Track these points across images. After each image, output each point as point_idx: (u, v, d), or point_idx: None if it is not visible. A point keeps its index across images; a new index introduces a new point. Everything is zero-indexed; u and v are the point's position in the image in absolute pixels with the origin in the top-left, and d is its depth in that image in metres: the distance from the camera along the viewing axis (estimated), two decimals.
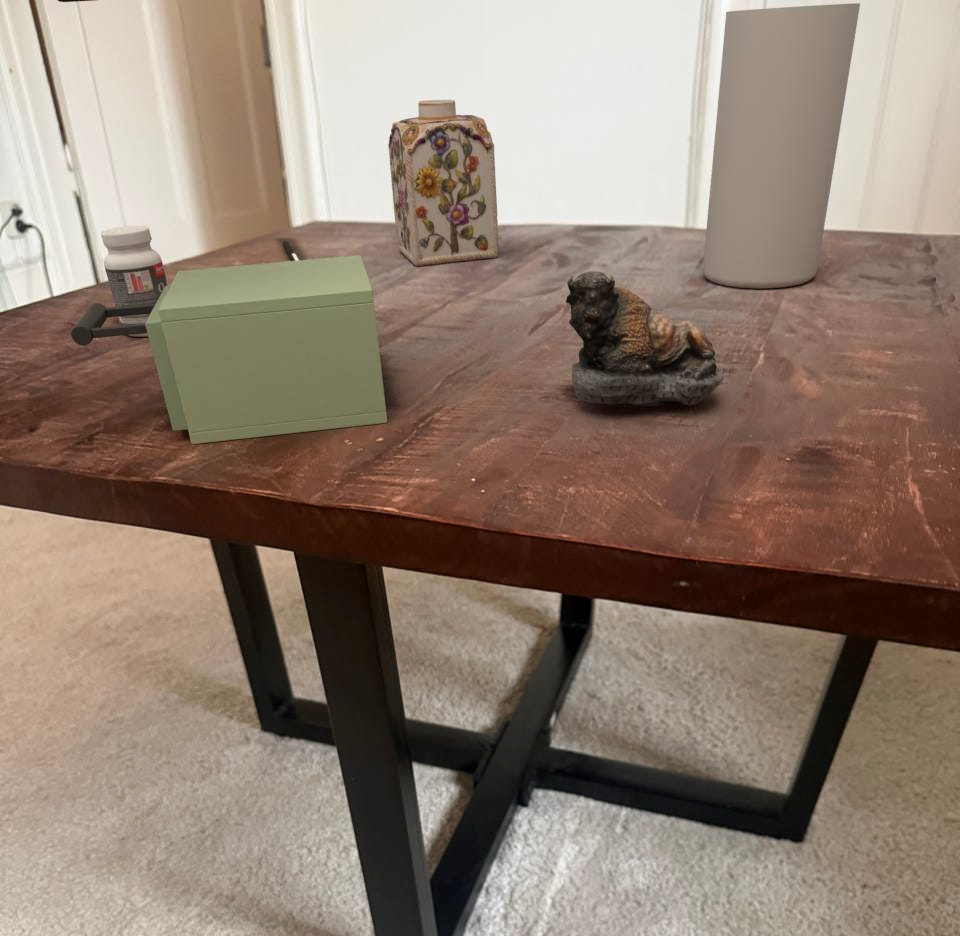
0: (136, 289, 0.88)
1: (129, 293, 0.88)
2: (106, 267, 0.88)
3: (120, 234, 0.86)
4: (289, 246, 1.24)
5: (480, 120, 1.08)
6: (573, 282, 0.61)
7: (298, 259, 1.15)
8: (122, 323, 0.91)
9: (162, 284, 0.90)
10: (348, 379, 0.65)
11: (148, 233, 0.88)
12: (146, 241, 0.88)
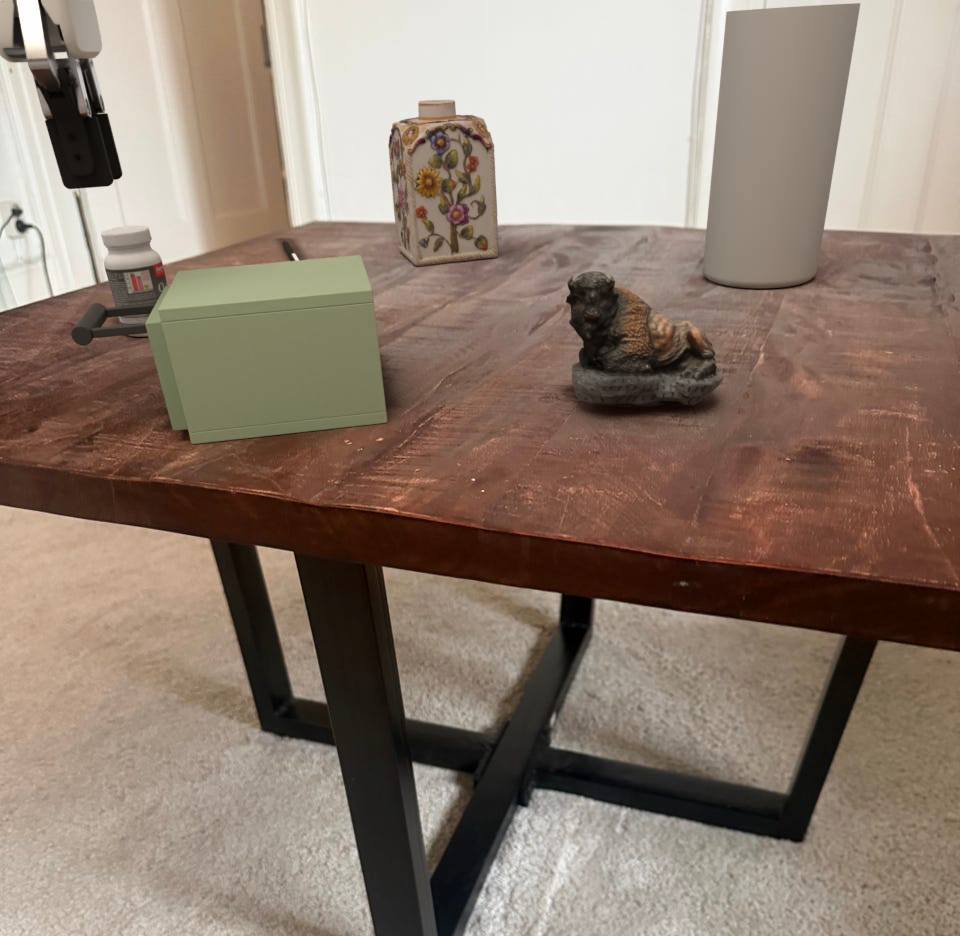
0: (136, 289, 0.88)
1: (129, 293, 0.88)
2: (106, 267, 0.88)
3: (120, 234, 0.86)
4: (289, 246, 1.24)
5: (480, 120, 1.08)
6: (573, 282, 0.61)
7: (298, 259, 1.15)
8: (122, 323, 0.91)
9: (162, 284, 0.90)
10: (348, 379, 0.65)
11: (148, 233, 0.88)
12: (146, 241, 0.88)
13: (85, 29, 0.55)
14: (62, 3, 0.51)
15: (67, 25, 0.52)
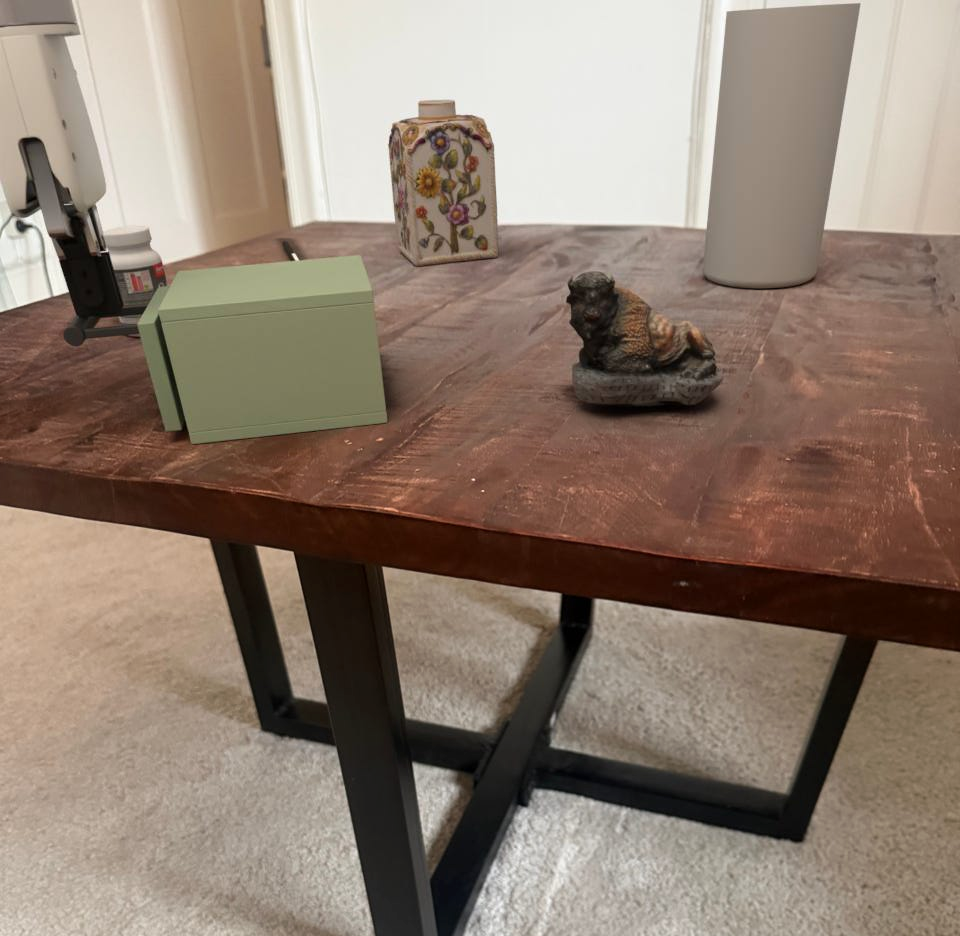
0: (136, 289, 0.88)
1: (129, 293, 0.88)
2: None
3: (120, 234, 0.86)
4: (289, 246, 1.24)
5: (480, 120, 1.08)
6: (573, 282, 0.61)
7: (298, 259, 1.15)
8: (122, 323, 0.91)
9: (162, 284, 0.90)
10: (348, 379, 0.65)
11: (148, 233, 0.88)
12: (146, 241, 0.88)
13: (91, 183, 0.59)
14: (70, 168, 0.56)
15: (75, 187, 0.56)
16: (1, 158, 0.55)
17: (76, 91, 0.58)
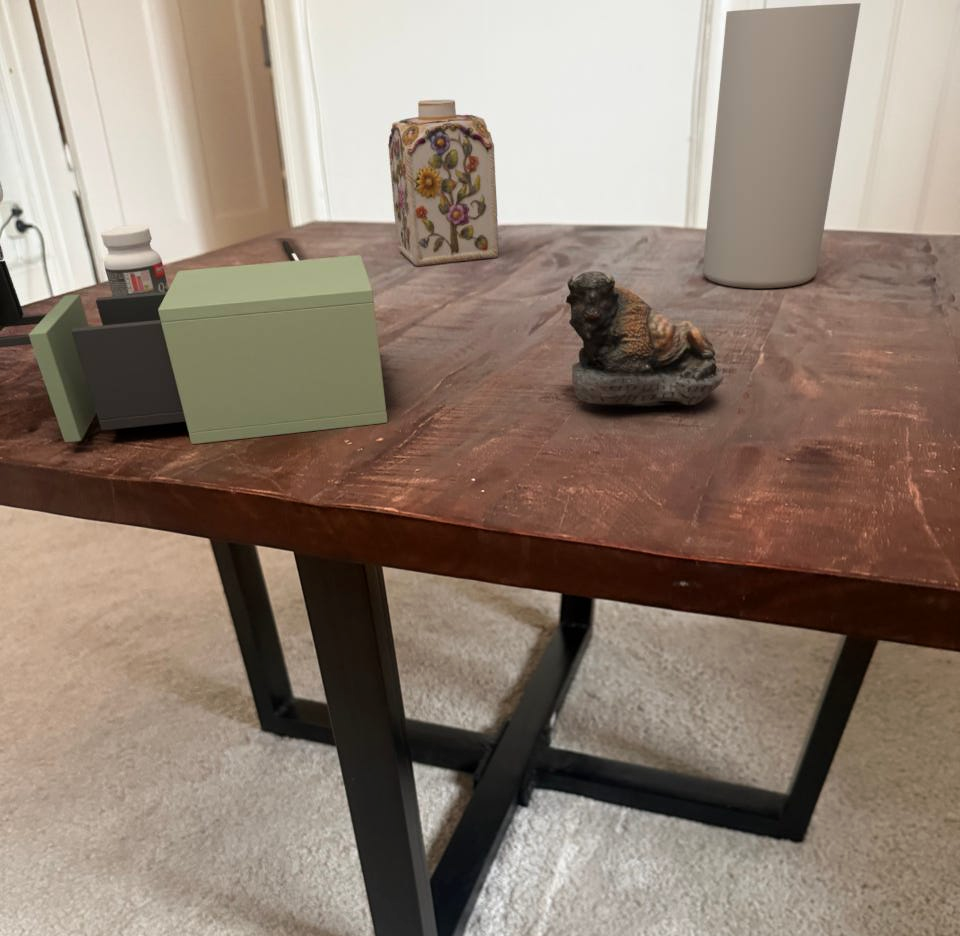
0: (136, 289, 0.88)
1: (129, 293, 0.88)
2: (106, 267, 0.88)
3: (120, 234, 0.86)
4: (289, 246, 1.24)
5: (480, 120, 1.08)
6: (573, 282, 0.61)
7: (298, 259, 1.15)
8: None
9: (162, 284, 0.90)
10: (348, 379, 0.65)
11: (148, 233, 0.88)
12: (146, 241, 0.88)
13: None
14: None
15: None
16: None
17: None
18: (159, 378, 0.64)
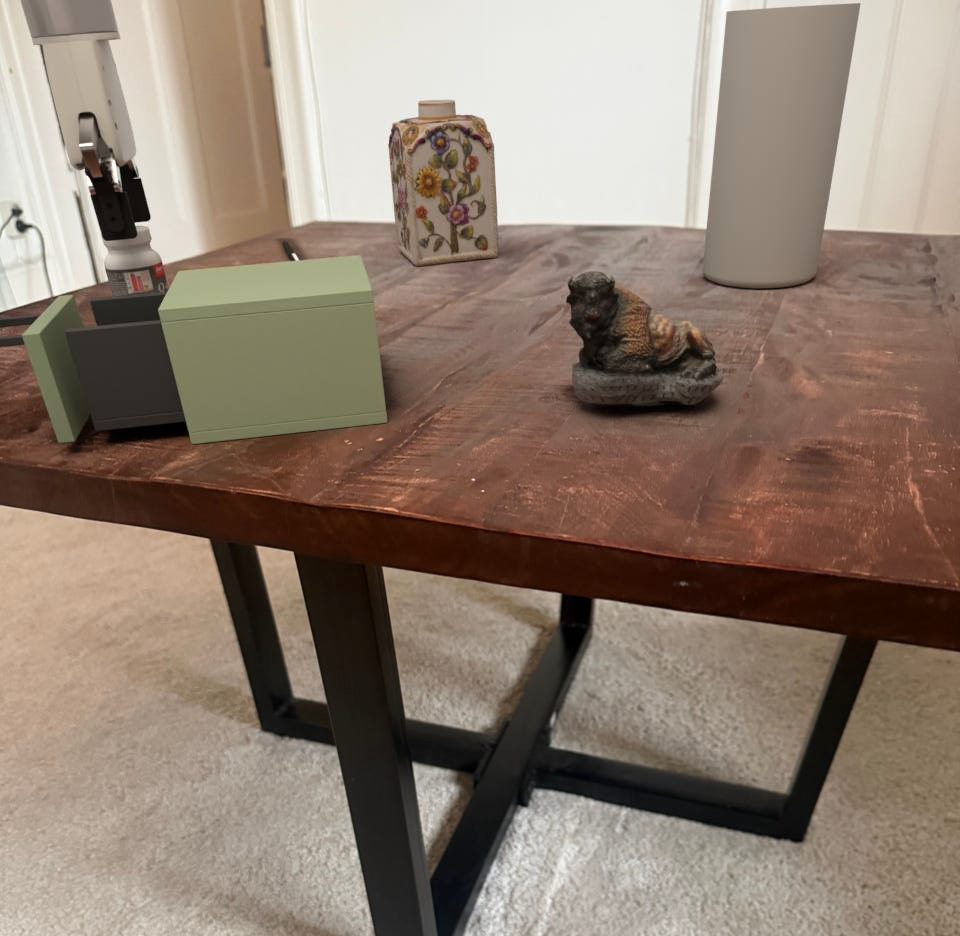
0: (136, 289, 0.88)
1: (129, 293, 0.88)
2: (106, 267, 0.88)
3: None
4: (289, 246, 1.24)
5: (480, 120, 1.08)
6: (573, 282, 0.61)
7: (298, 259, 1.15)
8: None
9: (162, 284, 0.90)
10: (348, 379, 0.65)
11: (148, 233, 0.88)
12: (146, 241, 0.88)
13: (127, 146, 0.83)
14: (114, 134, 0.79)
15: (117, 148, 0.80)
16: (66, 127, 0.78)
17: (117, 79, 0.81)
18: (153, 379, 0.64)
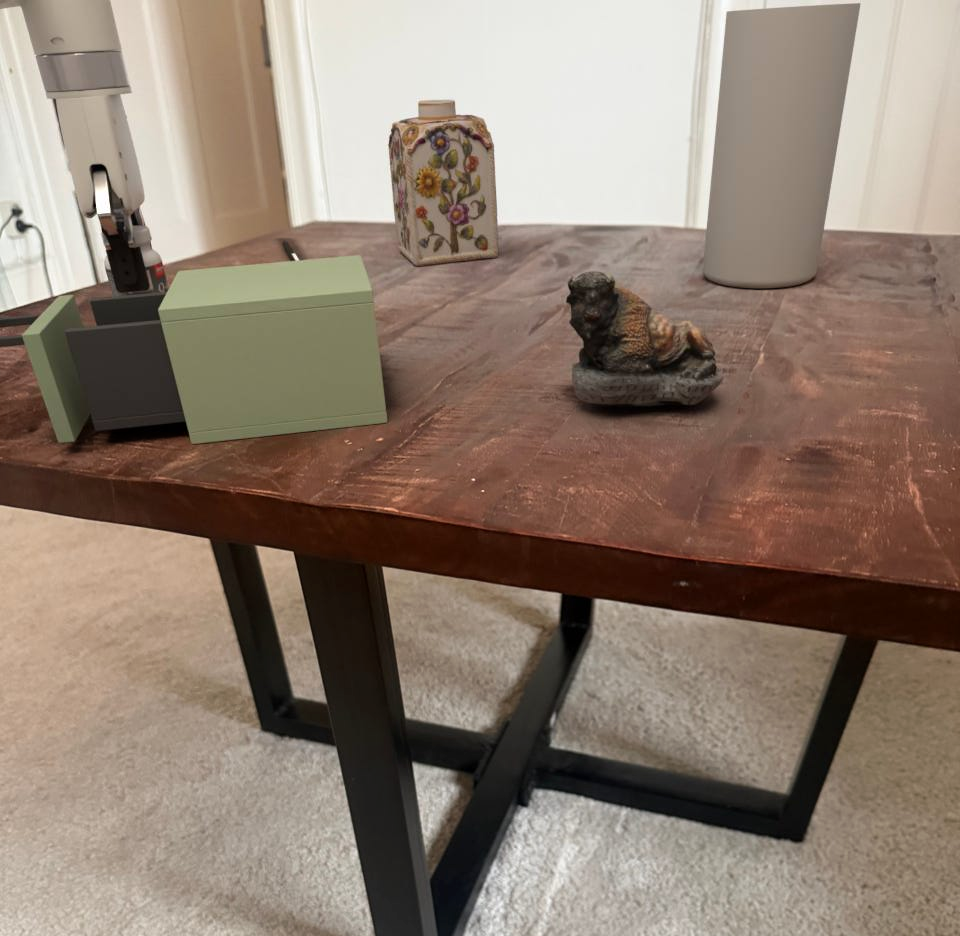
0: None
1: (129, 294, 0.88)
2: (106, 267, 0.88)
3: None
4: (289, 246, 1.24)
5: (480, 120, 1.08)
6: (573, 282, 0.61)
7: (298, 259, 1.15)
8: None
9: (162, 284, 0.90)
10: (348, 379, 0.65)
11: (148, 233, 0.88)
12: (146, 241, 0.88)
13: (136, 194, 0.85)
14: (124, 185, 0.81)
15: (126, 198, 0.82)
16: (77, 178, 0.80)
17: (127, 131, 0.83)
18: (153, 379, 0.64)
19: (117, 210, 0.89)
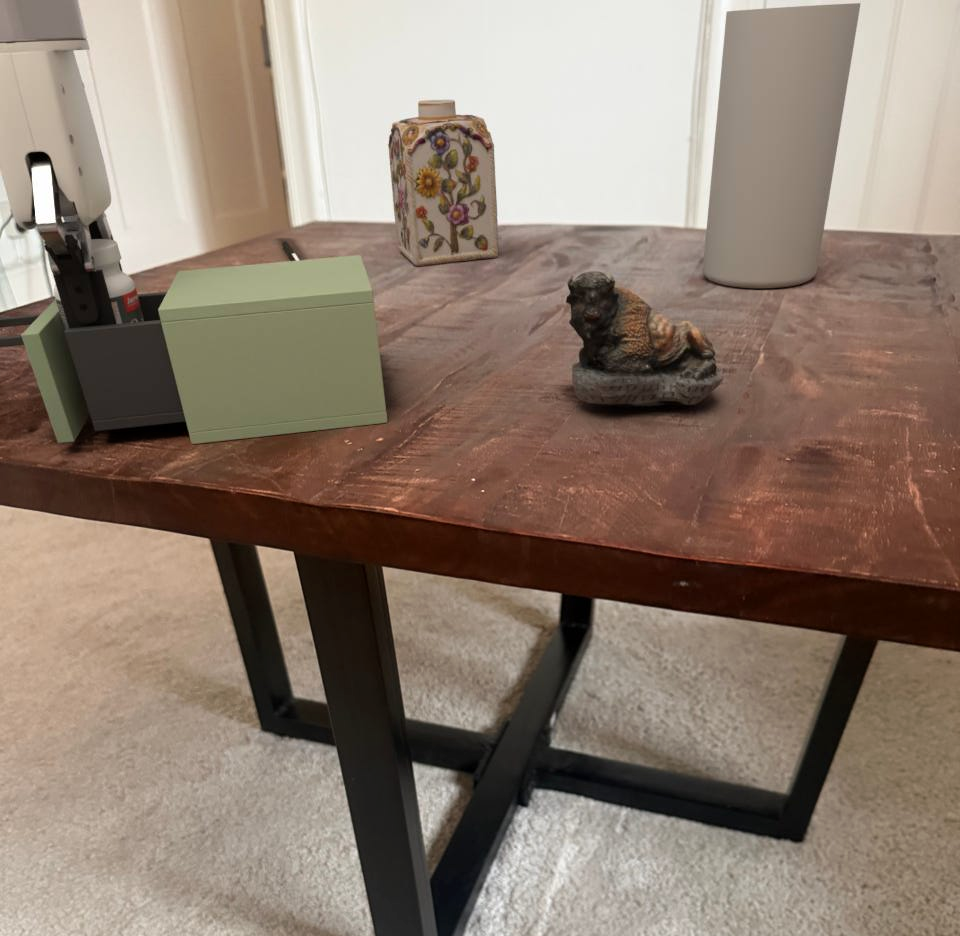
0: None
1: None
2: (57, 297, 0.63)
3: None
4: (289, 246, 1.24)
5: (480, 120, 1.08)
6: (573, 282, 0.61)
7: (298, 259, 1.15)
8: None
9: (136, 321, 0.65)
10: (348, 379, 0.65)
11: (116, 250, 0.63)
12: (113, 262, 0.62)
13: (96, 196, 0.60)
14: (77, 183, 0.56)
15: (81, 201, 0.57)
16: (8, 171, 0.55)
17: (84, 105, 0.58)
18: (152, 379, 0.63)
19: (72, 217, 0.64)
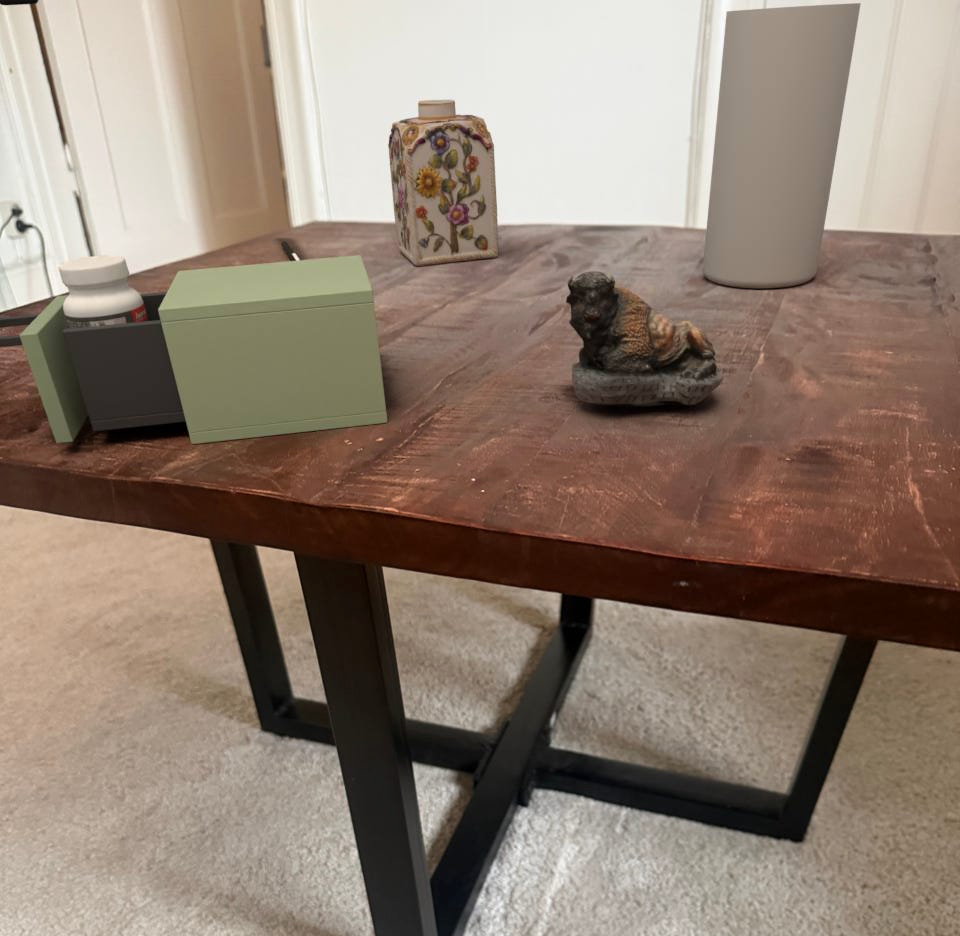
0: None
1: None
2: (66, 313, 0.63)
3: (84, 269, 0.61)
4: (289, 246, 1.24)
5: (480, 120, 1.08)
6: (573, 282, 0.61)
7: None
8: None
9: None
10: (348, 379, 0.65)
11: (124, 266, 0.63)
12: (121, 277, 0.63)
13: None
14: None
15: None
16: None
17: None
18: (151, 379, 0.63)
19: None
